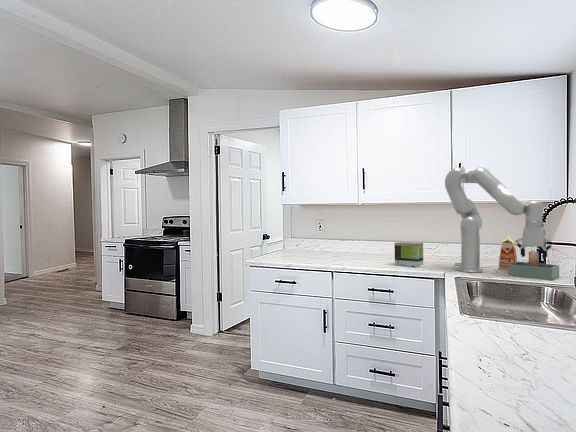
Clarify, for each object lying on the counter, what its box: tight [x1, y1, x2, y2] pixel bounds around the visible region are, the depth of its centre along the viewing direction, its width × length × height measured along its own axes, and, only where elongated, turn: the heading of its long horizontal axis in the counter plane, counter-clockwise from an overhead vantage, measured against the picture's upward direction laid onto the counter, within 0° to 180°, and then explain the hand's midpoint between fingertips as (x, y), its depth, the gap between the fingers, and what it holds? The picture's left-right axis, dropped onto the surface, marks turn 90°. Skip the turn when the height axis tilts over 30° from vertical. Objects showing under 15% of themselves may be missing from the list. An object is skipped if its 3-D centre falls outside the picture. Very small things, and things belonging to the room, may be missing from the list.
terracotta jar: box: [528, 250, 540, 264], centre depth 203 cm, size 4×4×6 cm
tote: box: [508, 261, 560, 281], centre depth 204 cm, size 20×14×6 cm
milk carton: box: [497, 234, 518, 272], centre depth 223 cm, size 9×9×20 cm
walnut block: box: [525, 261, 543, 267], centre depth 204 cm, size 6×6×6 cm
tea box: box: [394, 241, 424, 268], centre depth 245 cm, size 15×10×15 cm
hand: (533, 257), depth 203 cm, fingers open, 9 cm apart
